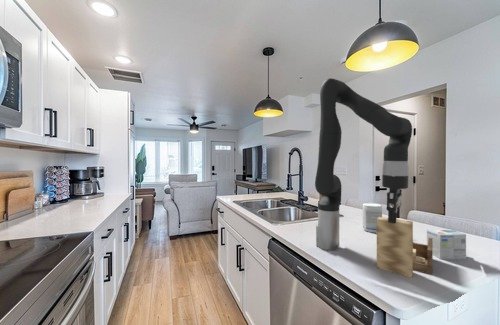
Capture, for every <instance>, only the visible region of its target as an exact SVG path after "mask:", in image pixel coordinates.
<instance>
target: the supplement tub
mask: <svg viewBox="0 0 500 325" xmlns="http://www.w3.org/2000/svg"><path fill="white" fill-rule="evenodd" d="M378 217H383V208H382V205H381V204H378V203H367V202H366V203H365V202H364V203H363V204H362V229H363V230H364V231H365V232H369V233H373V234H377V218H378Z"/></svg>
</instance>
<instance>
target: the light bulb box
mask: <svg viewBox="0 0 500 325" xmlns="http://www.w3.org/2000/svg"><path fill="white" fill-rule="evenodd" d="M428 238H433V257H435V258H437V259H439V260H466V259H467V234H466V233H463V232H460V231H456V230H454V229H450V228H449V229H445V228H443V229H426V245H428Z"/></svg>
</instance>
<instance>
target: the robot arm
mask: <svg viewBox="0 0 500 325" xmlns="http://www.w3.org/2000/svg"><path fill="white" fill-rule="evenodd" d="M319 90H320V92H319V99H320V100H319V103H320V121H319V123H320V124H319V127H320V128H319V137H318V138H319V139H318V155H317V156H318V157H317V160H318V162H317V166H316V167H317V168H316V169H317V170H316V173H315V181H314V187H315V190H316V192H317V193H318V194H319V195H321V198H320V200H319V201H318V203H317V224H316V226H315V236H316V237H315V238H316V239H315V246H316V247H318V248H320V249H321V250H324V251H332V252H333V251H334V252H335V251H338V250H339V249H340V205H341V204H342V181H341V179H340V177H338V175H336V174H334V173H335V172H334V170H335V168H334V167H335V162H336V159H337V156H338V154H339V153H340V152H339V151H340V149H341V145H342V134H343V133H342V126H341V123H340V121H339V119H338V118H339V117H338V114H337V109H336V108H337V104H340V105H344V106H346V107H347V108H349V109H350V110H352V111H353V113H354V114H355V115H357V116H358V117H359V118H360V119H362V120H364V121H365V122H367V123H368V124H370V125H372V126H373V127H374V128H375V129H376V130H377V131H378V132H380V133H381V134H383V135H384V136H387V137H389V140H388V144H386V145H385V146H384V147H383V149H384V150H383V163H382V170H381V171H382V176H381V177H382V179H381V180H382V181H381V182H382V183H381V184H382V185H381V186H382V187H383V188H385V189H388V191H387V193H386V207H385V208H386V211H387V212H388V213H387V218H388V222H389V223H394V224H395V223H396V219H399V218H401V217H400V216H401V215H400V213H401V206H402V203H403V200H402V198H403V193H402V190H407V189H409V174H410V173H409V146H410V142H411V138H412V134H413V126H412V122H411V121H410V120H409V119H408V118H406V117H403V116H398V115H395V114H393V113H392V112H390V111H388V110H387V109H386V108H385V107H384V106H381V105H379V104H378V103H376V102H374V101H373V100H370V99H369V98H366V97H364V96H362V95H360V94H359V93H357V92H356V91H354V90H353V89H352V88H351V87H350V86H349V85H347V83H345V82H344V81H342V80H339V79H336V78H332V77H331V78H326V79H325V80H324V81H323V83H322V84H321V86H320V89H319Z"/></svg>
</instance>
